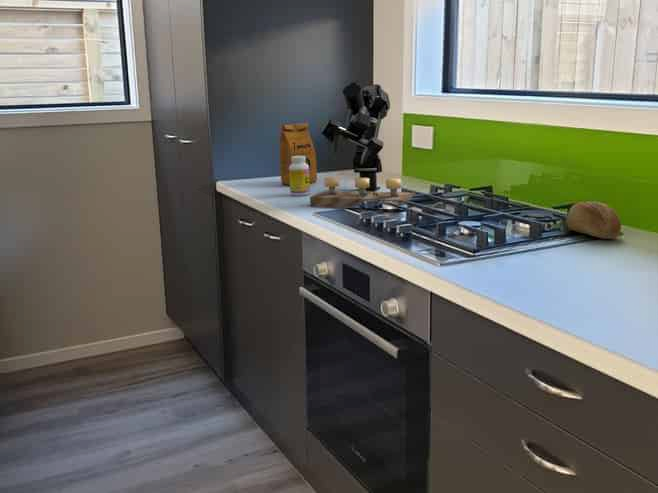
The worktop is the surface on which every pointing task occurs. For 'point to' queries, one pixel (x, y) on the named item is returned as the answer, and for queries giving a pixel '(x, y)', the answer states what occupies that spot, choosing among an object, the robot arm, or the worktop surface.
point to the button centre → (362, 185)
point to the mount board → (354, 198)
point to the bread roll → (594, 220)
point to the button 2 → (393, 186)
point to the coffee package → (296, 150)
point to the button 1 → (332, 184)
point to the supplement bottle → (299, 177)
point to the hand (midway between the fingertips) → (348, 158)
